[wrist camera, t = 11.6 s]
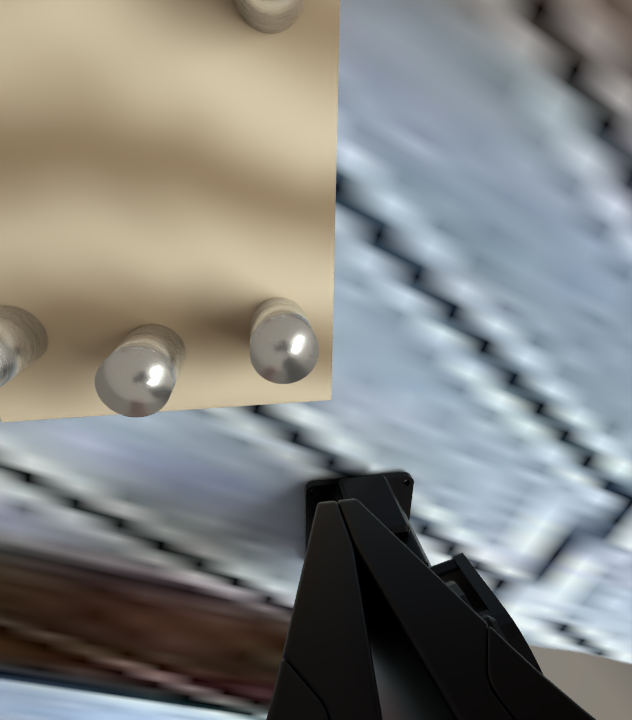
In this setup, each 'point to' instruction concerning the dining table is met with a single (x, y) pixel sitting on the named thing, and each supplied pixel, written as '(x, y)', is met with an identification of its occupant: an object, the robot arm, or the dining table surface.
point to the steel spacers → (163, 345)
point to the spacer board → (164, 190)
